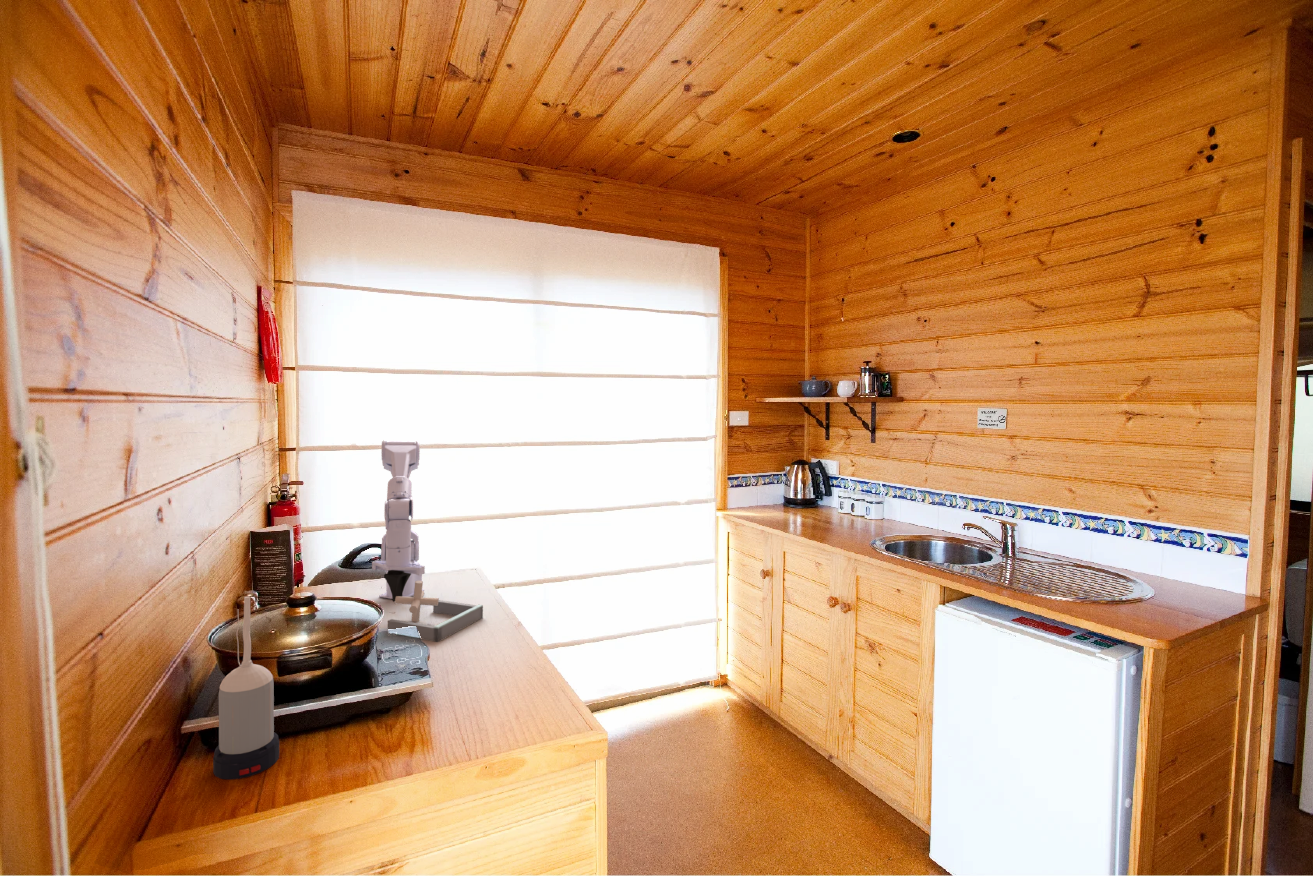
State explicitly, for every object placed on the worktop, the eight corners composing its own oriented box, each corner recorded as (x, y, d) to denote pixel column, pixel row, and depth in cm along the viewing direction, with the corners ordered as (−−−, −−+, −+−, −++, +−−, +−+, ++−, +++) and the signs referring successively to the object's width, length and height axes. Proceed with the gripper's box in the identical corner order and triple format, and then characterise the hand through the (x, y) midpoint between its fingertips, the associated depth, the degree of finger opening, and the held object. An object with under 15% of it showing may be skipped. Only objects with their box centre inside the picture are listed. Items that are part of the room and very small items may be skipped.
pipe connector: (433, 630, 148) (436, 590, 147) (389, 628, 146) (393, 588, 145) (439, 612, 158) (442, 575, 157) (398, 610, 156) (401, 573, 154)
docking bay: (387, 633, 143) (387, 619, 143) (436, 610, 159) (436, 598, 159) (438, 641, 138) (438, 627, 138) (482, 617, 155) (482, 605, 155)
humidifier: (243, 784, 85) (242, 608, 84) (199, 773, 87) (197, 602, 86) (292, 753, 93) (292, 591, 92) (250, 744, 95) (249, 586, 94)
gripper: (362, 546, 150) (362, 601, 150) (410, 552, 145) (409, 608, 146) (384, 541, 157) (383, 594, 157) (430, 546, 152) (429, 600, 152)
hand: (397, 600), depth 152 cm, fingers closed, pressing on pipe connector
